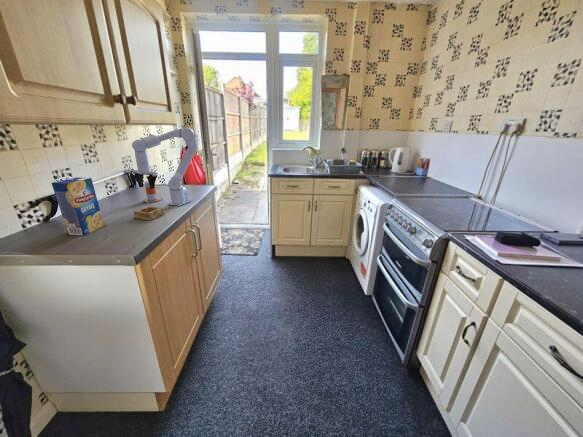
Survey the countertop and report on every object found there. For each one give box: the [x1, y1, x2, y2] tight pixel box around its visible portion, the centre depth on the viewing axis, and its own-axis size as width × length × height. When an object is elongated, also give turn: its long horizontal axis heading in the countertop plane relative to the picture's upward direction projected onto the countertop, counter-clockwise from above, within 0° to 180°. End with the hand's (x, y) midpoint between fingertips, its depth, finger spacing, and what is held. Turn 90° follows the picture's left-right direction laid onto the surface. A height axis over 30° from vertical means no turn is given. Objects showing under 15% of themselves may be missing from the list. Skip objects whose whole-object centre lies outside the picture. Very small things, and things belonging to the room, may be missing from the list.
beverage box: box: [51, 176, 105, 236], centre depth 103 cm, size 7×11×22 cm, turn 176°
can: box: [143, 180, 158, 201], centre depth 148 cm, size 5×5×11 cm
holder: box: [133, 205, 165, 221], centre depth 124 cm, size 9×9×4 cm
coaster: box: [143, 197, 162, 204], centre depth 150 cm, size 9×9×1 cm
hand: (147, 187), depth 137 cm, fingers open, 7 cm apart
